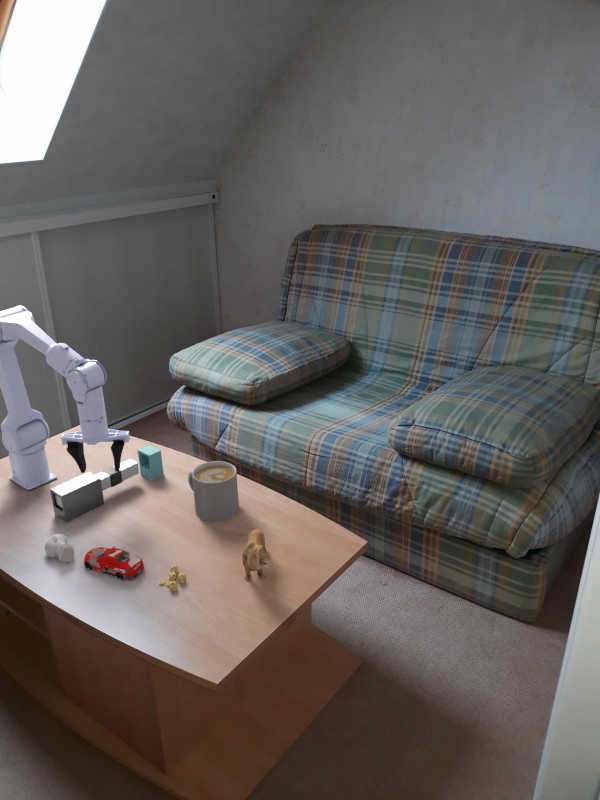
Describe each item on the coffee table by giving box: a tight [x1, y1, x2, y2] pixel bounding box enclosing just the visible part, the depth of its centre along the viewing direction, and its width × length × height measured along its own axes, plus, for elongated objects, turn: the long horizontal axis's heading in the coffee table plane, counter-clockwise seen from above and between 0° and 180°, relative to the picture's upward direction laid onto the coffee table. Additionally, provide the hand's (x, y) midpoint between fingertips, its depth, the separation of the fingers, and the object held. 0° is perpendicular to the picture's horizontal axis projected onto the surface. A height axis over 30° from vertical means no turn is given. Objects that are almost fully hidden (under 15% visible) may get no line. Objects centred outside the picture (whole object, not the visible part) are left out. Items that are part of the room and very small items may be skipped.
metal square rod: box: [55, 458, 140, 508], centre depth 155 cm, size 3×20×3 cm, turn 139°
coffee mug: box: [187, 460, 240, 523], centre depth 151 cm, size 13×10×10 cm
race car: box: [83, 546, 145, 581], centre depth 132 cm, size 13×5×4 cm, turn 64°
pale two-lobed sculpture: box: [44, 533, 75, 563], centre depth 136 cm, size 4×8×5 cm
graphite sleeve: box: [49, 471, 105, 524], centre depth 151 cm, size 5×10×7 cm, turn 140°
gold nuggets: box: [158, 564, 187, 593], centre depth 129 cm, size 5×5×2 cm
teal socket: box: [137, 444, 164, 481], centre depth 165 cm, size 5×4×7 cm
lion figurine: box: [241, 528, 272, 581], centre depth 130 cm, size 15×5×9 cm, turn 8°
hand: (100, 470), depth 150 cm, fingers open, 7 cm apart
